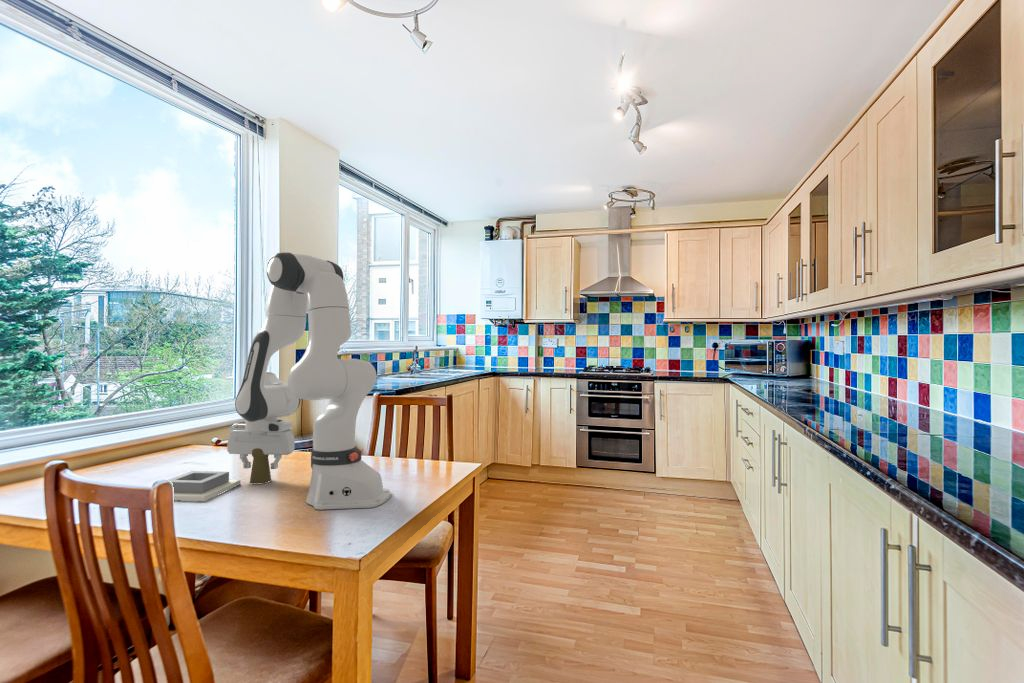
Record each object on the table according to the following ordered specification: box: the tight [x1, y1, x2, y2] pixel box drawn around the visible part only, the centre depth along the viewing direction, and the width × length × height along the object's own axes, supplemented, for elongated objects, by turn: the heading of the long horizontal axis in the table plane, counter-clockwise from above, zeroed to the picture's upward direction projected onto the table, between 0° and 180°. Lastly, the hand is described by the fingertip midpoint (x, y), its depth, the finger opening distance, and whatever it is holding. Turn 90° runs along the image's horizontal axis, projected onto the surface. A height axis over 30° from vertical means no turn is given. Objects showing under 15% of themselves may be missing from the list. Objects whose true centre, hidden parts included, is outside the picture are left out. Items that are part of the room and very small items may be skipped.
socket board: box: [168, 470, 241, 502], centre depth 141 cm, size 16×16×4 cm
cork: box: [249, 448, 272, 484], centre depth 152 cm, size 6×6×11 cm
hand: (260, 468), depth 152 cm, fingers open, 7 cm apart
